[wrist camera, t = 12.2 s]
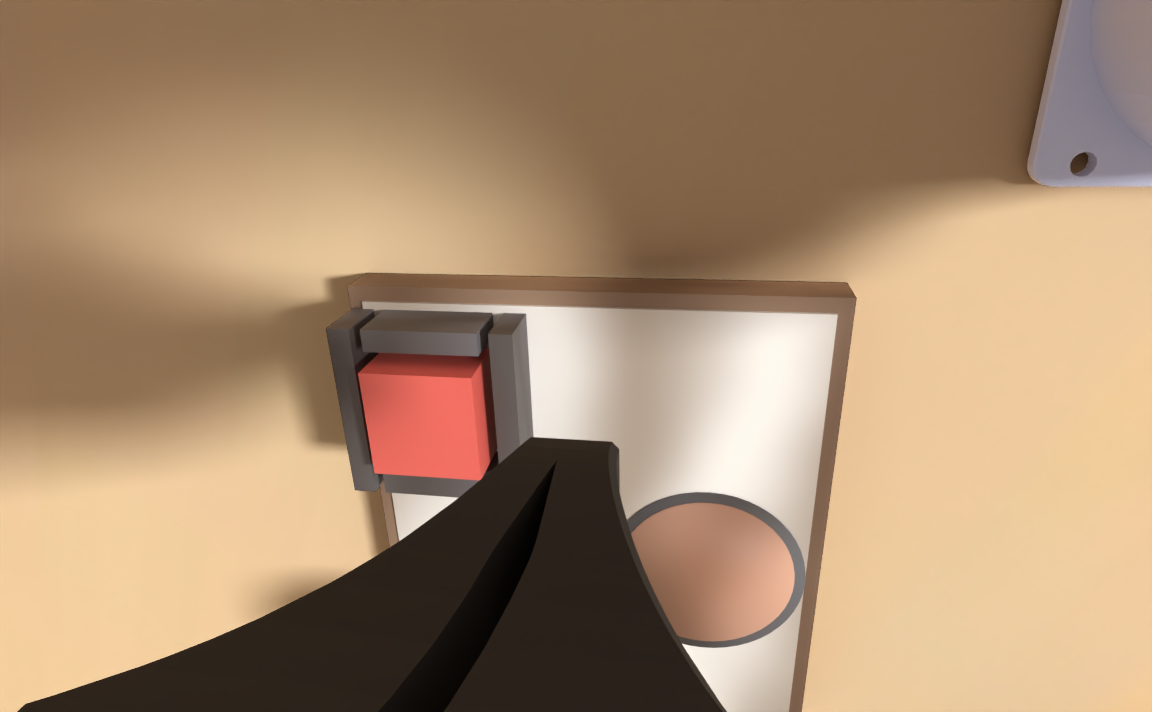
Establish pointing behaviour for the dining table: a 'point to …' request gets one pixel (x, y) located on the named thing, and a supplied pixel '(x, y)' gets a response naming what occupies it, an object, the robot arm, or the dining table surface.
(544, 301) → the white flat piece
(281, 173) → the dining table surface
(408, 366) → the button
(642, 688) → the robot arm
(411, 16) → the dining table surface
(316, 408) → the dining table surface
